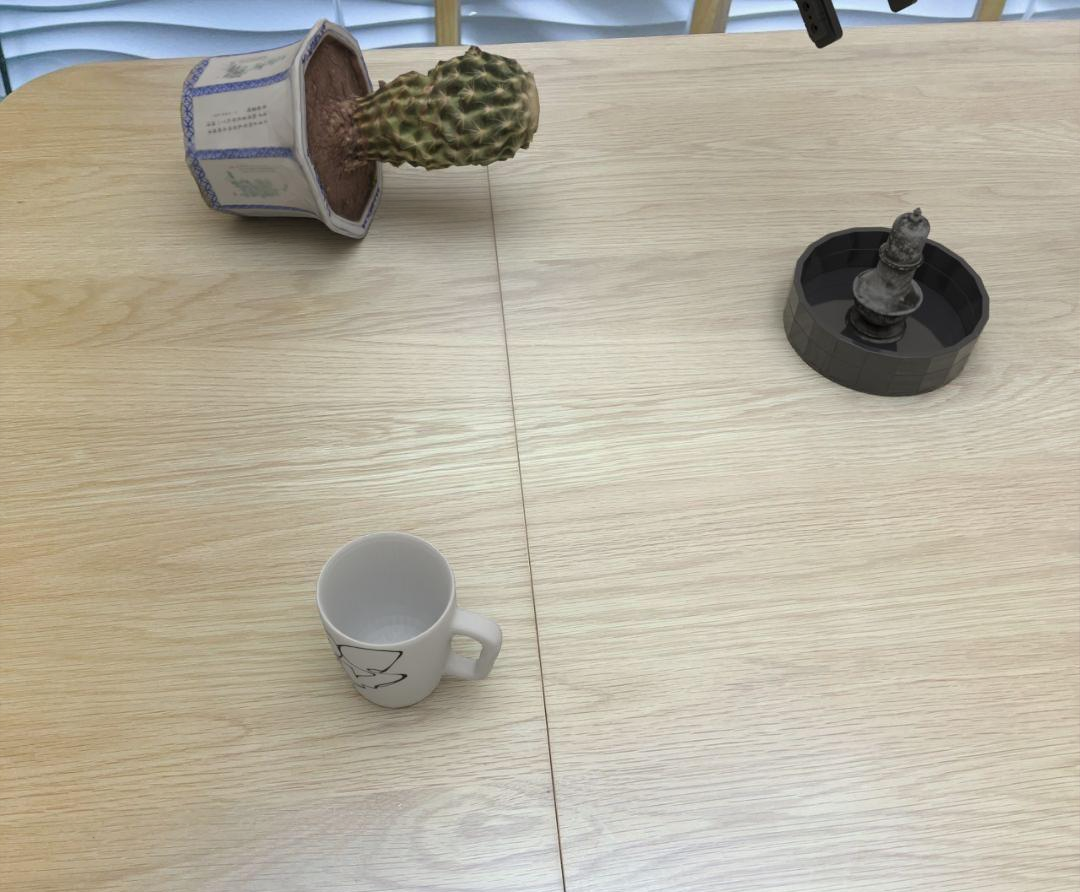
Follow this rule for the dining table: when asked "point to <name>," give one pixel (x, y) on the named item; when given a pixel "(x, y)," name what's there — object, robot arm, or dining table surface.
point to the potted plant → (342, 125)
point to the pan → (932, 330)
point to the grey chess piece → (890, 283)
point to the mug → (399, 618)
